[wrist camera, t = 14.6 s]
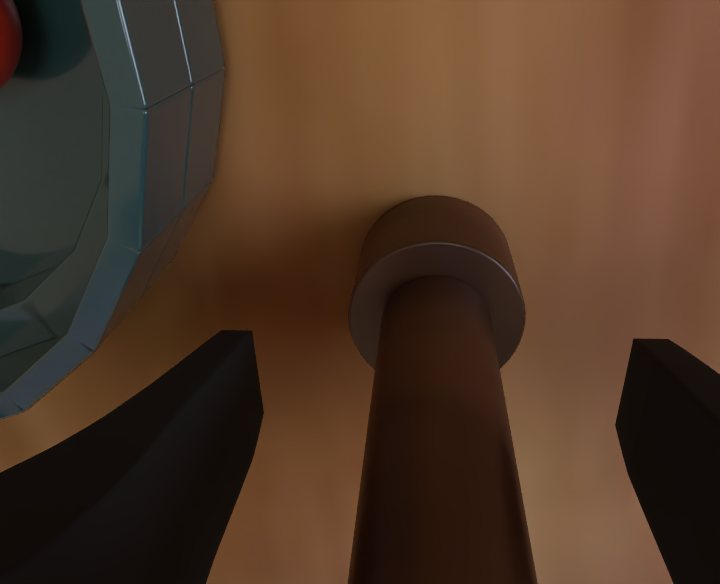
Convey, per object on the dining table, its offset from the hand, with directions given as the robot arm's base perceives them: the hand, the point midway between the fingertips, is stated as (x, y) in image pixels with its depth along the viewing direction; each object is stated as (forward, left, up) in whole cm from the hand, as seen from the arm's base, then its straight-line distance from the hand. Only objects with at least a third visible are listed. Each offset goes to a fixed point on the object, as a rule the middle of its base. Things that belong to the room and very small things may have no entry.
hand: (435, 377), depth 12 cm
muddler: (0, +1, -4) cm, 4 cm away
